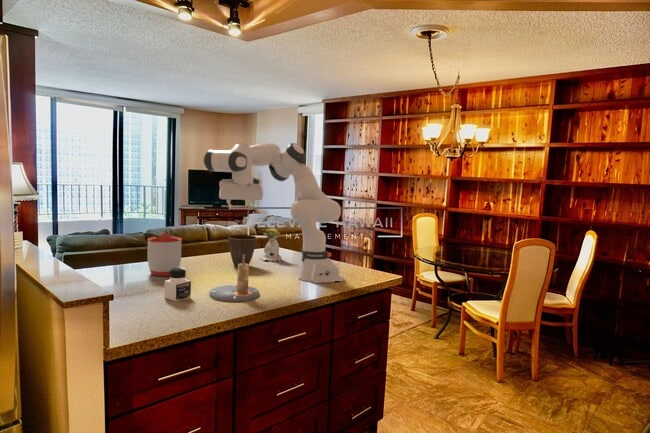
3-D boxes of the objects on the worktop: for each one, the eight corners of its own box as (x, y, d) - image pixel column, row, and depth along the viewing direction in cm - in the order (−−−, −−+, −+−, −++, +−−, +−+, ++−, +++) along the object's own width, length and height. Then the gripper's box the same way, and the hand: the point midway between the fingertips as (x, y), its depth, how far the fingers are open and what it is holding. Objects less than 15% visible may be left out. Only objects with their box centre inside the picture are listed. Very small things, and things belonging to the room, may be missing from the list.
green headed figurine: (276, 256, 254) (277, 226, 252) (284, 261, 243) (286, 230, 241) (257, 257, 249) (258, 227, 247) (264, 262, 237) (266, 230, 235)
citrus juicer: (176, 268, 213) (176, 229, 211) (185, 276, 199) (186, 234, 197) (143, 270, 205) (143, 230, 202) (150, 279, 190) (150, 235, 188)
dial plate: (257, 287, 186) (257, 284, 186) (260, 301, 167) (260, 298, 166) (210, 287, 182) (210, 284, 181) (208, 302, 162) (208, 298, 162)
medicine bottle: (176, 302, 160) (176, 271, 159) (164, 298, 164) (164, 268, 163) (190, 297, 166) (191, 268, 165) (179, 294, 170) (179, 265, 169)
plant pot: (261, 266, 227) (262, 237, 225) (241, 271, 214) (243, 240, 212) (241, 262, 235) (242, 233, 233) (221, 266, 222) (222, 236, 220)
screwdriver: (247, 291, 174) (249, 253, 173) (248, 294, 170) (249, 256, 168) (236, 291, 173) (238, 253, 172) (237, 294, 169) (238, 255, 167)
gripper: (221, 179, 187) (220, 209, 188) (264, 180, 197) (263, 210, 198) (217, 178, 193) (216, 208, 194) (260, 180, 202) (258, 208, 204)
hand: (240, 209), depth 196 cm, fingers open, 8 cm apart
